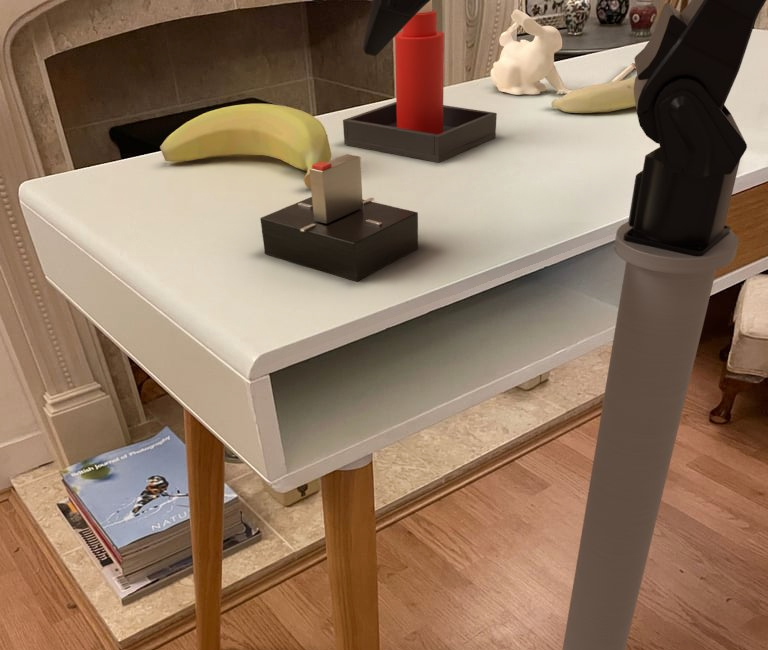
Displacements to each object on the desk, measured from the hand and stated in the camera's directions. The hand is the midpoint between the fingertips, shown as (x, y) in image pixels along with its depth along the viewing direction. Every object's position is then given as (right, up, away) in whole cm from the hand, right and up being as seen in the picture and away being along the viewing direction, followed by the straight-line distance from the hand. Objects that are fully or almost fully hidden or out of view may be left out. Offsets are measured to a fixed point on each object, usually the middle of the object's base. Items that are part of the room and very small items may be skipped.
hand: (341, 26), depth 60 cm
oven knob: (0, -12, +5) cm, 13 cm away
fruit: (+32, +15, +41) cm, 54 cm away
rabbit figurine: (+22, +20, +48) cm, 56 cm away
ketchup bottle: (+7, +6, +31) cm, 32 cm away
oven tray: (+7, +6, +31) cm, 33 cm away
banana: (-10, 0, +25) cm, 27 cm away
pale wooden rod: (+36, +23, +51) cm, 66 cm away
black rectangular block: (0, -15, +7) cm, 16 cm away
